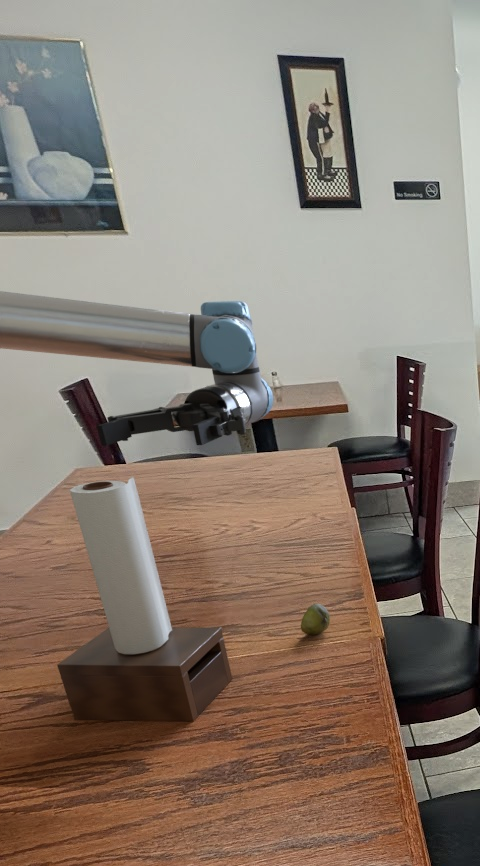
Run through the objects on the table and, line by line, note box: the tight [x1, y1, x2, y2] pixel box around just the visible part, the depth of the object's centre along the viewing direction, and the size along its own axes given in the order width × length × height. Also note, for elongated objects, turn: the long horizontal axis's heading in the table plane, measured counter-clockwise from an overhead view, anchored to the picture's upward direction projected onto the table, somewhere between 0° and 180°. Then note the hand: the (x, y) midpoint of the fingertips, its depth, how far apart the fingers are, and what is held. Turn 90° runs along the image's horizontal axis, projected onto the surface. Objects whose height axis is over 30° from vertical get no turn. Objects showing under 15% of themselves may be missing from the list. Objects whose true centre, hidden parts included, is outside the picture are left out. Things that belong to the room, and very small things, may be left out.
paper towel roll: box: [69, 476, 173, 654], centre depth 103 cm, size 7×6×21 cm
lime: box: [300, 603, 331, 636], centre depth 129 cm, size 4×5×5 cm
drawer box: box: [56, 626, 233, 722], centre depth 110 cm, size 16×12×8 cm
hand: (149, 435), depth 112 cm, fingers open, 13 cm apart
